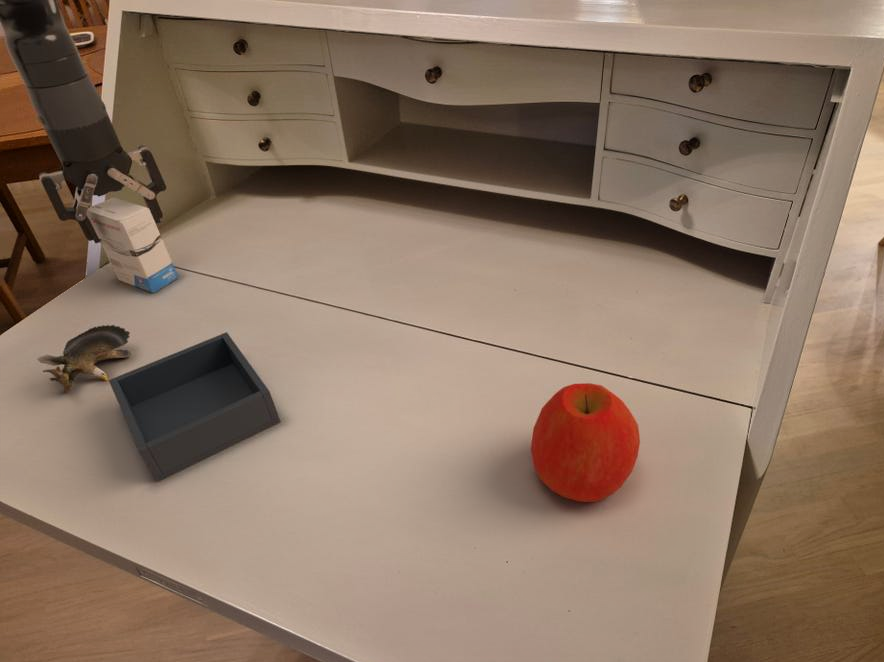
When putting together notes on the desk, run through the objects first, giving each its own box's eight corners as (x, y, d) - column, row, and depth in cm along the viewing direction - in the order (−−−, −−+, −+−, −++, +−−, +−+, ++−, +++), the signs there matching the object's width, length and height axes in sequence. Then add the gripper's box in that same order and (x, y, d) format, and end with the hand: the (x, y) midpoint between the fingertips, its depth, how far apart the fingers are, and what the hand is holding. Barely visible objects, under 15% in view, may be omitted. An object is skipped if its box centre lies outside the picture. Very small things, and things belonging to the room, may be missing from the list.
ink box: (180, 277, 96) (150, 206, 88) (153, 294, 93) (119, 222, 85) (144, 264, 100) (112, 194, 92) (117, 280, 96) (81, 209, 89)
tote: (157, 482, 66) (139, 451, 62) (126, 410, 74) (108, 379, 71) (281, 422, 71) (269, 391, 68) (238, 361, 80) (226, 331, 77)
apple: (639, 444, 66) (651, 369, 59) (626, 525, 59) (638, 449, 52) (543, 426, 69) (544, 352, 62) (519, 501, 61) (517, 426, 55)
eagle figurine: (93, 399, 74) (146, 344, 79) (37, 359, 71) (96, 303, 76) (77, 406, 79) (128, 353, 84) (25, 368, 76) (81, 316, 81)
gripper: (125, 95, 86) (170, 206, 96) (7, 123, 80) (69, 238, 90) (139, 109, 81) (185, 224, 92) (15, 139, 75) (79, 259, 86)
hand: (127, 231), depth 91 cm, fingers open, 8 cm apart
